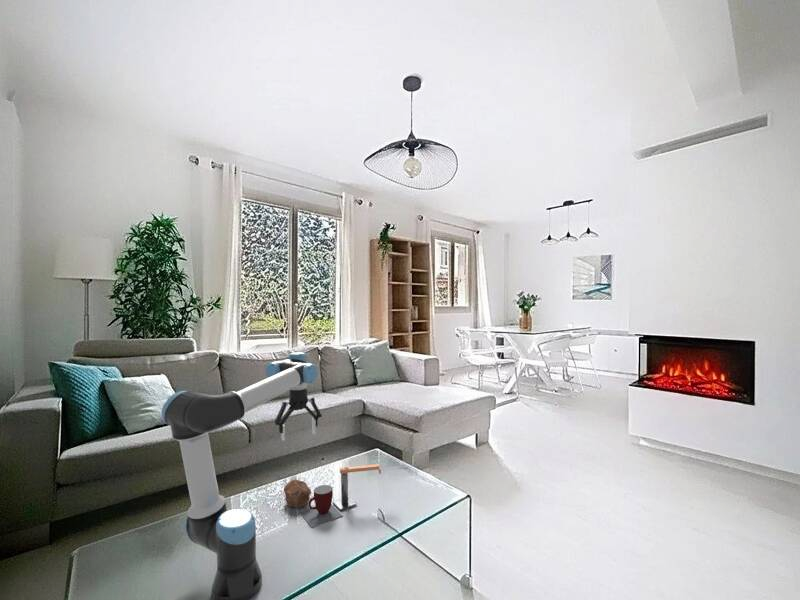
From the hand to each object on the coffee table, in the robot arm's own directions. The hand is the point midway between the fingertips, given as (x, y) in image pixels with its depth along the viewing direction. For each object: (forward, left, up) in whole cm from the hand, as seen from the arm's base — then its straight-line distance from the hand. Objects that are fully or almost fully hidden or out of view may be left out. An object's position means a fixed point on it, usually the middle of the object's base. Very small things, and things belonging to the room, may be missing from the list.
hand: (298, 436), depth 168 cm
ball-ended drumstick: (+26, -8, -21) cm, 34 cm away
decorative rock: (+2, +9, -34) cm, 35 cm away
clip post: (+19, -5, -34) cm, 39 cm away
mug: (+7, -6, -34) cm, 35 cm away
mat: (+7, -6, -34) cm, 35 cm away
